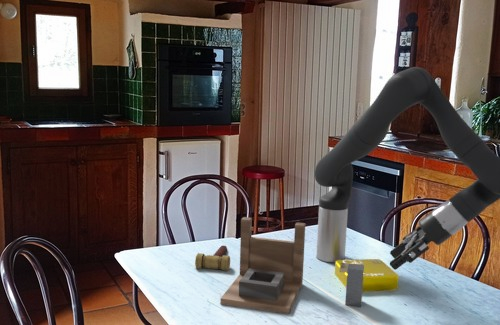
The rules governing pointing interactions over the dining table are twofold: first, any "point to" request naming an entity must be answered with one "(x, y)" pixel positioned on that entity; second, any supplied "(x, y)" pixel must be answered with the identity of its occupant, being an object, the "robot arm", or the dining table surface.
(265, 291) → the wooden peg insertion stand
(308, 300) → the dining table surface
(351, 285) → the tan-topped grey pillar
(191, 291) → the dining table surface
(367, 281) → the element tile
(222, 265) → the gavel
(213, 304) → the dining table surface
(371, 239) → the dining table surface
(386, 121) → the robot arm
